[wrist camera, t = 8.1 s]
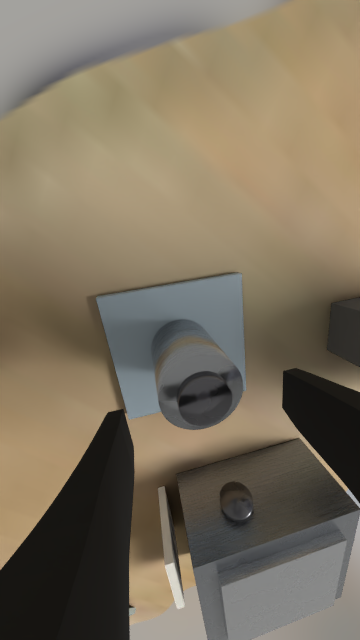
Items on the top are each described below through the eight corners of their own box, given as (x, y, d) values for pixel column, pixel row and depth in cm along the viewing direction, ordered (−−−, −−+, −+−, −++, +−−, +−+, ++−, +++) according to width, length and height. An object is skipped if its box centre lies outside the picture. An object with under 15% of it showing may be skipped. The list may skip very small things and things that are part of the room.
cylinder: (209, 315, 14) (251, 354, 9) (210, 368, 16) (248, 429, 10) (147, 323, 14) (154, 370, 8) (154, 378, 15) (164, 448, 10)
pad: (237, 272, 14) (241, 273, 14) (242, 386, 17) (246, 390, 17) (97, 296, 13) (95, 298, 13) (129, 413, 16) (128, 419, 16)
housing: (300, 432, 20) (371, 512, 14) (294, 517, 25) (346, 607, 18) (175, 468, 19) (194, 576, 13) (192, 552, 23) (212, 664, 17)
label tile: (165, 485, 19) (174, 562, 15) (174, 527, 21) (185, 606, 17) (157, 488, 19) (164, 565, 14) (167, 529, 21) (176, 609, 16)
